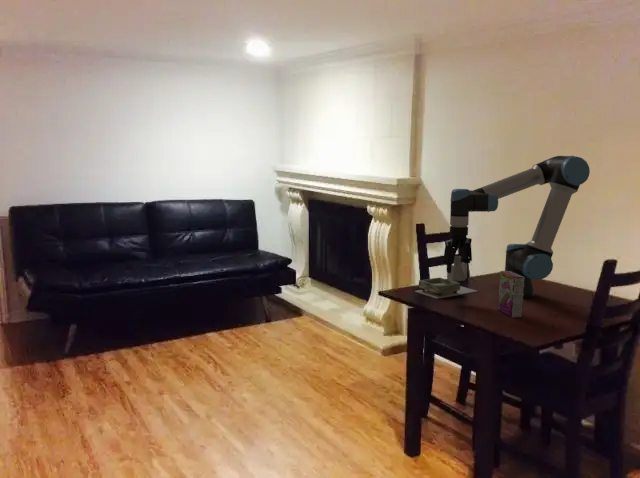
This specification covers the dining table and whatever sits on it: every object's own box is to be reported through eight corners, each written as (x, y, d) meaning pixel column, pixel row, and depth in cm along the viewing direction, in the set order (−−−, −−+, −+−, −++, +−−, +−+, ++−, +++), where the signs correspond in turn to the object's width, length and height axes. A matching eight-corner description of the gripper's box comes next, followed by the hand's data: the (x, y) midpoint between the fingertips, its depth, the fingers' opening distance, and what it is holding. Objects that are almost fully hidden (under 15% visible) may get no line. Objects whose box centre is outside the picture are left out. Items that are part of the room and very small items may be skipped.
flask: (464, 277, 250) (465, 255, 248) (466, 281, 242) (467, 258, 241) (447, 277, 250) (448, 254, 249) (449, 281, 243) (450, 258, 242)
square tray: (459, 293, 260) (460, 283, 259) (438, 296, 253) (439, 286, 252) (439, 287, 271) (439, 277, 270) (418, 290, 264) (418, 280, 263)
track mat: (477, 291, 266) (477, 290, 266) (436, 298, 252) (436, 297, 252) (455, 285, 277) (455, 284, 277) (414, 291, 263) (414, 290, 263)
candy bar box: (496, 310, 236) (499, 270, 234) (507, 309, 237) (510, 270, 235) (510, 318, 226) (514, 277, 223) (522, 317, 227) (525, 276, 224)
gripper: (469, 223, 251) (466, 274, 255) (434, 226, 240) (433, 280, 244) (482, 225, 245) (480, 277, 249) (448, 228, 234) (446, 283, 238)
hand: (456, 278), depth 246 cm, fingers closed on flask, 8 cm apart
